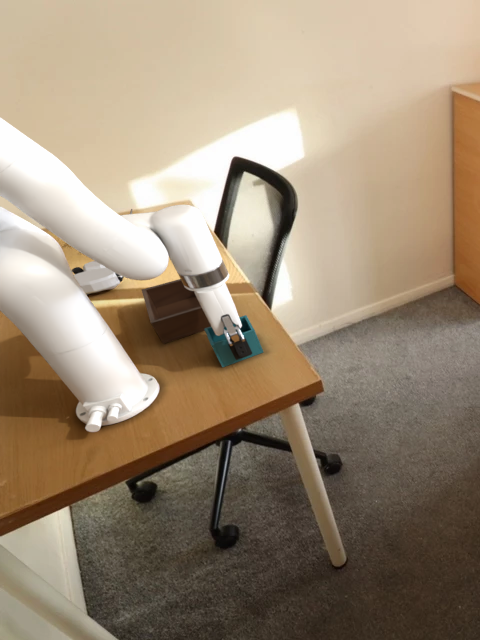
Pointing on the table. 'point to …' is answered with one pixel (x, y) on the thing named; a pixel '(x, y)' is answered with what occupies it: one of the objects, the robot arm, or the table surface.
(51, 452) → the table surface
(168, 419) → the table surface
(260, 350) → the box
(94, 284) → the robot toy
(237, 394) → the table surface
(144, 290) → the crate
